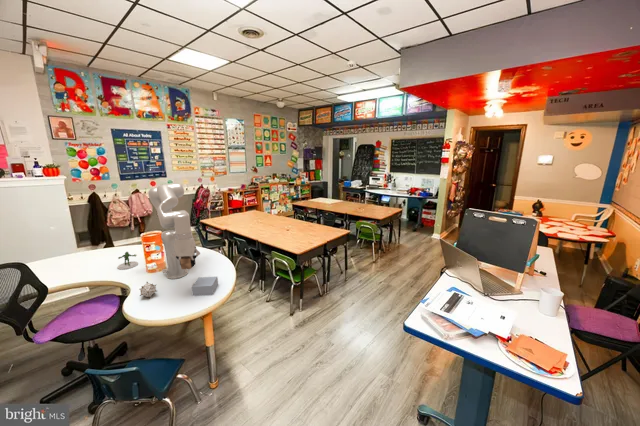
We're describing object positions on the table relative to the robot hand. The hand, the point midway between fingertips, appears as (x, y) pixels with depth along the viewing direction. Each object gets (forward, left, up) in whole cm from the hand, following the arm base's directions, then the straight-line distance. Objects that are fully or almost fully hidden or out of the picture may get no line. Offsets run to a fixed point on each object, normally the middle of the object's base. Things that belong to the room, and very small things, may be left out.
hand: (188, 265), depth 141 cm
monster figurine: (-59, +43, -18) cm, 75 cm away
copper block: (0, 0, -1) cm, 1 cm away
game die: (-23, 0, -18) cm, 29 cm away
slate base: (+7, +3, -18) cm, 19 cm away
